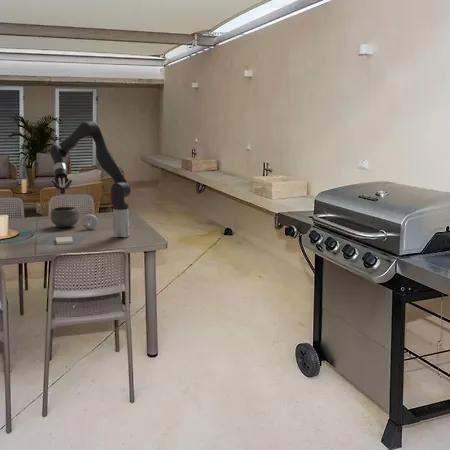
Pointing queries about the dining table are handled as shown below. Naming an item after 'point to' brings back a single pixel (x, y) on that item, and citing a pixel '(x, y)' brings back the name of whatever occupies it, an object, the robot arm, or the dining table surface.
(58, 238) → the tile
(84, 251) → the dining table surface
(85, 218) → the donut
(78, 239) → the mat
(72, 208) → the bowl
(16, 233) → the dining table surface
